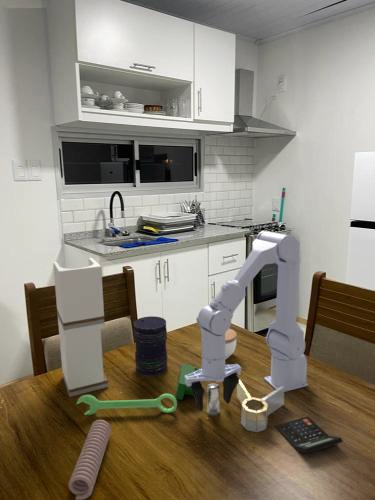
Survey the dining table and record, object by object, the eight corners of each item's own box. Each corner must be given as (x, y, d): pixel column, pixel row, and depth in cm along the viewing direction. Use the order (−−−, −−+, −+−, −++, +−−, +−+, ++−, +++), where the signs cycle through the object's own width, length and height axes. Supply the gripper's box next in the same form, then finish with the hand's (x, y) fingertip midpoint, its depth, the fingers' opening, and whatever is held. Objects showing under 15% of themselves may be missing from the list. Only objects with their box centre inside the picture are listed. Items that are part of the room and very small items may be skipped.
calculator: (307, 419, 94) (308, 408, 93) (341, 451, 83) (342, 439, 83) (274, 428, 91) (275, 417, 90) (305, 462, 80) (306, 450, 79)
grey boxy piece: (108, 386, 108) (101, 266, 101) (69, 396, 104) (59, 271, 96) (98, 368, 118) (91, 257, 111) (62, 376, 114) (53, 262, 106)
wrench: (76, 417, 95) (74, 398, 94) (78, 413, 97) (76, 394, 96) (177, 414, 96) (177, 395, 95) (177, 409, 98) (176, 390, 97)
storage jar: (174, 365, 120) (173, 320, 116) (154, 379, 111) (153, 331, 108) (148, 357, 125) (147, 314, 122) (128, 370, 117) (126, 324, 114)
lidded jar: (238, 363, 120) (238, 335, 118) (204, 363, 120) (204, 335, 119) (234, 348, 131) (235, 322, 129) (203, 348, 131) (203, 322, 129)
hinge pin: (216, 407, 98) (216, 382, 97) (221, 413, 96) (221, 388, 94) (205, 409, 97) (205, 384, 96) (210, 416, 95) (210, 390, 93)
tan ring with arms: (266, 389, 106) (267, 372, 105) (299, 419, 93) (300, 400, 92) (221, 400, 101) (221, 383, 100) (250, 434, 88) (250, 414, 87)
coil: (90, 418, 88) (64, 481, 70) (110, 416, 88) (89, 478, 70) (93, 436, 89) (69, 502, 71) (113, 434, 89) (93, 500, 71)
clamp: (192, 411, 103) (199, 393, 98) (172, 406, 103) (178, 388, 98) (197, 377, 112) (204, 359, 107) (179, 372, 112) (184, 354, 108)
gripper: (192, 368, 87) (192, 421, 90) (247, 356, 92) (246, 406, 95) (181, 354, 93) (181, 404, 96) (233, 344, 99) (233, 392, 102)
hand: (213, 404), depth 96 cm, fingers open, 7 cm apart
